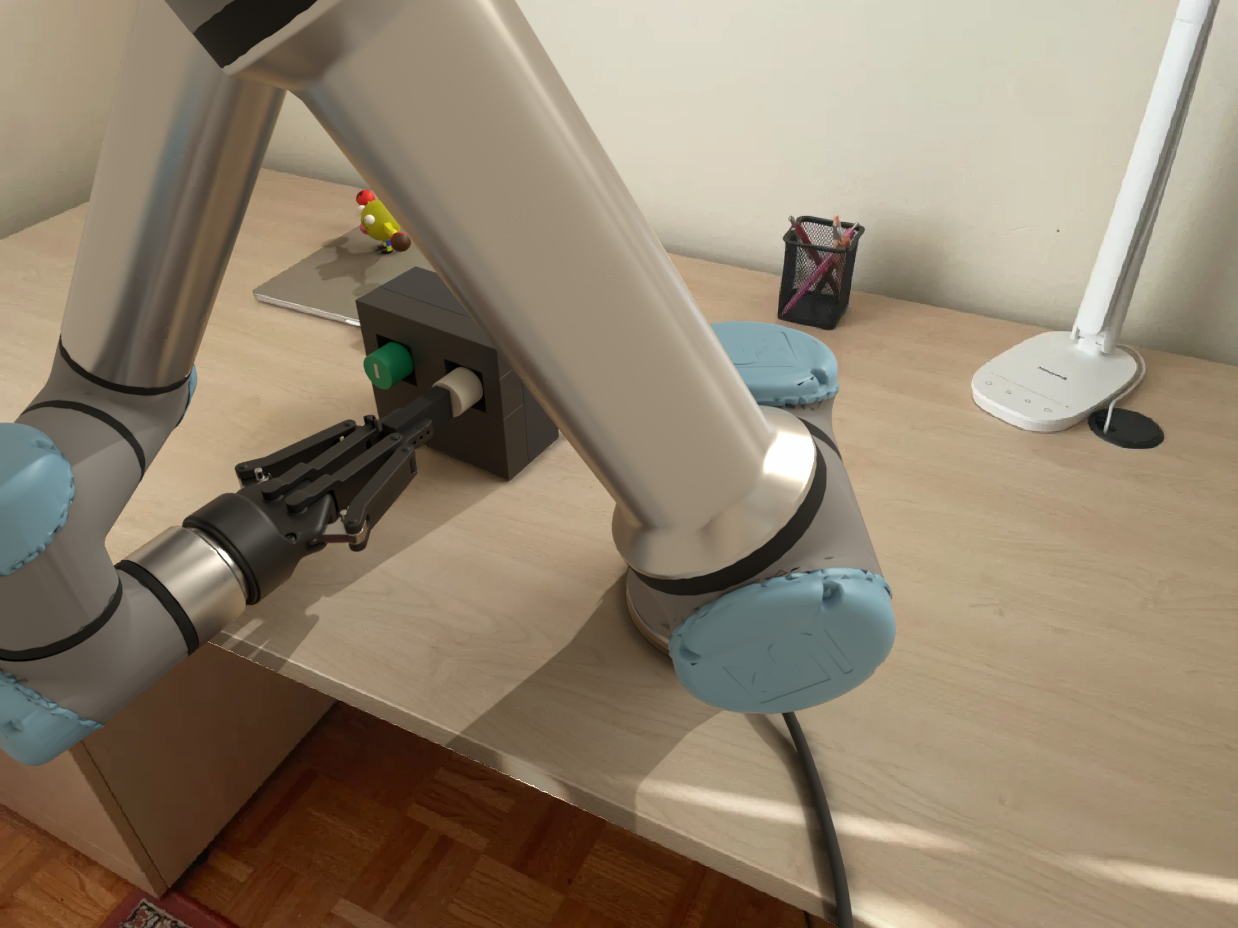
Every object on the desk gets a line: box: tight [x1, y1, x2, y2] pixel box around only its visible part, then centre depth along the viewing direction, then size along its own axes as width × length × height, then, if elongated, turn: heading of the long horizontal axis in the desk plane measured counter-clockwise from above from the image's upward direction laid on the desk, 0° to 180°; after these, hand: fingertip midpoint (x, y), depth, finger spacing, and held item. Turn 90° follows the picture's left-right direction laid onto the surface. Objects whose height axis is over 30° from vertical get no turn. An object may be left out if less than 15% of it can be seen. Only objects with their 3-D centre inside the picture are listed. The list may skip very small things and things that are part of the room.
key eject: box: [432, 367, 483, 417], centre depth 79 cm, size 3×3×3 cm
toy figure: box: [355, 189, 412, 254], centre depth 119 cm, size 18×6×7 cm, turn 28°
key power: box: [362, 342, 414, 389], centre depth 82 cm, size 3×3×3 cm
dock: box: [354, 265, 560, 482], centre depth 85 cm, size 8×16×14 cm, turn 58°
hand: (444, 401), depth 77 cm, fingers closed
